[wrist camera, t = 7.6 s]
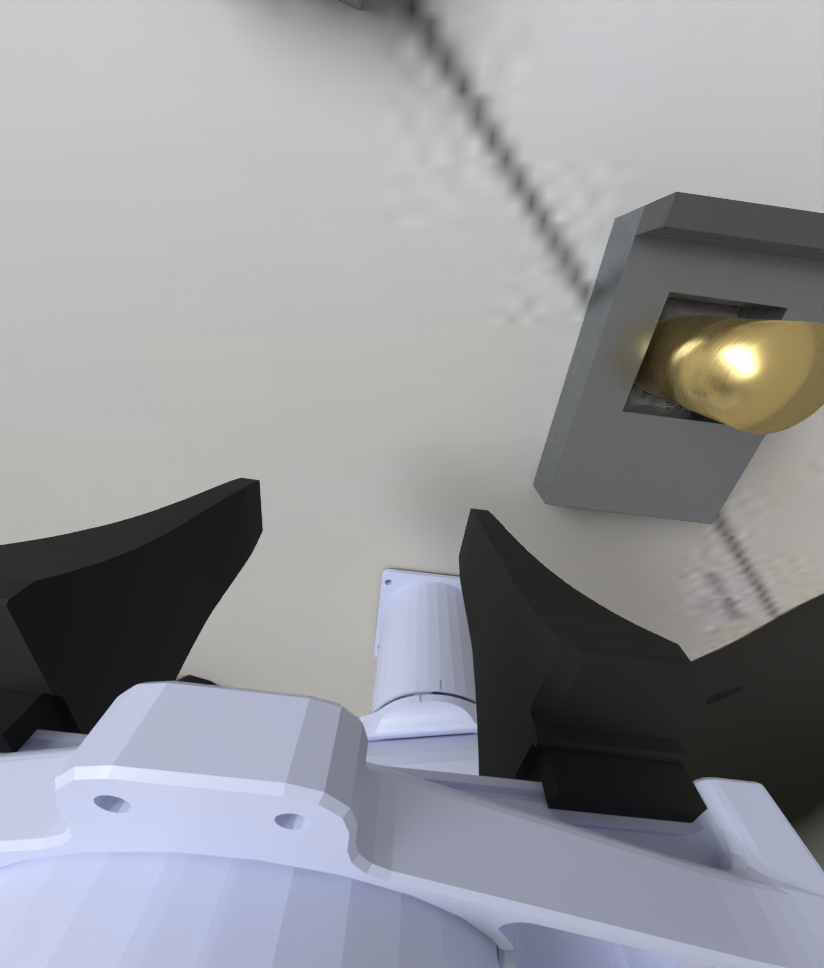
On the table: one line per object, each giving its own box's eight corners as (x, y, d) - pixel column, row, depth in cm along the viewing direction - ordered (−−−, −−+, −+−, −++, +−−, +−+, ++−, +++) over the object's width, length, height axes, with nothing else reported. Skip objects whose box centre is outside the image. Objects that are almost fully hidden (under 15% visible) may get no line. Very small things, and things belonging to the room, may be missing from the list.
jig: (684, 502, 23) (738, 544, 19) (533, 484, 23) (556, 523, 19) (821, 248, 17) (945, 231, 13) (615, 218, 17) (676, 191, 13)
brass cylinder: (678, 401, 20) (791, 445, 14) (614, 382, 20) (700, 419, 14) (723, 327, 19) (875, 340, 12) (654, 305, 18) (773, 307, 12)
